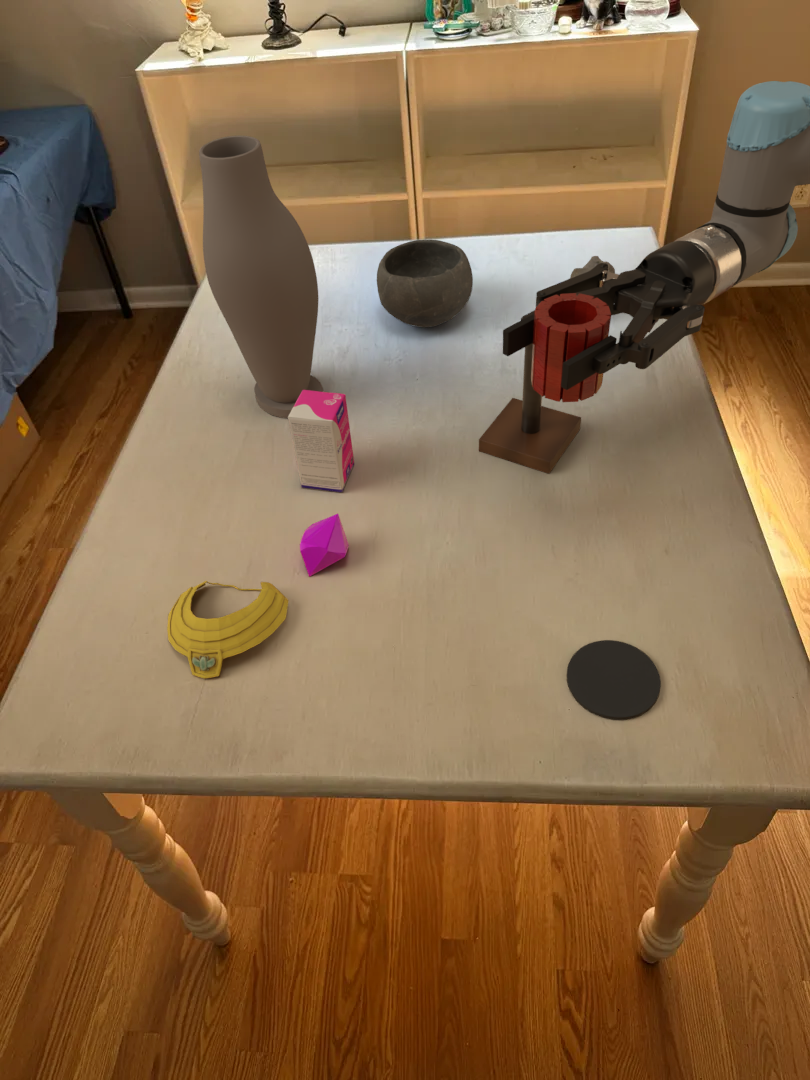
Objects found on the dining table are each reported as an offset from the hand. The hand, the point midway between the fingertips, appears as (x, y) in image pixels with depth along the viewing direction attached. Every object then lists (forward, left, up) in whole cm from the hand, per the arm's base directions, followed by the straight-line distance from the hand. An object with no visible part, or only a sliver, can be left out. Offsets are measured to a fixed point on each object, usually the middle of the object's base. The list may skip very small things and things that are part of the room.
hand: (534, 359), depth 75 cm
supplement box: (+27, +3, -24) cm, 36 cm away
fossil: (+13, -49, -24) cm, 56 cm away
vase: (+42, -8, -24) cm, 49 cm away
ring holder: (+7, -15, -24) cm, 29 cm away
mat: (-16, +15, -24) cm, 32 cm away
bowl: (+35, -36, -24) cm, 55 cm away
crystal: (+19, +15, -24) cm, 34 cm away
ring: (-2, -5, -5) cm, 7 cm away
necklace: (+23, +29, -24) cm, 44 cm away
